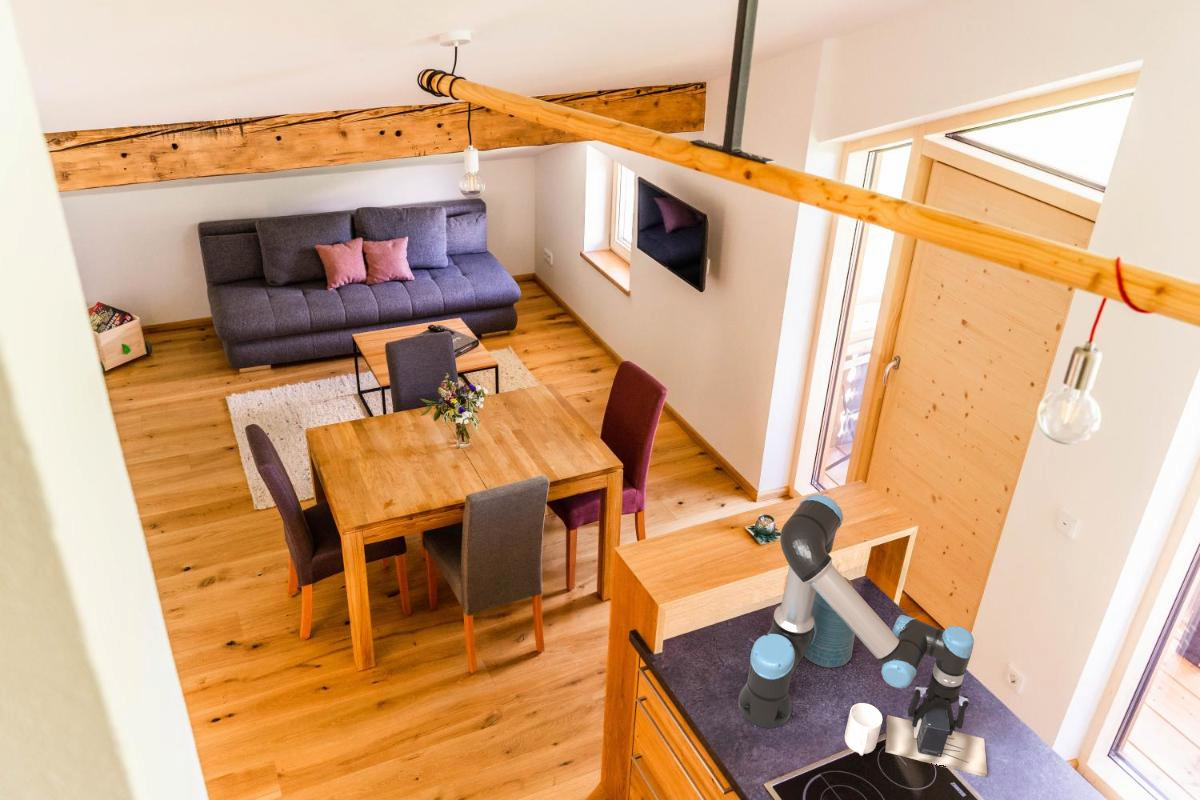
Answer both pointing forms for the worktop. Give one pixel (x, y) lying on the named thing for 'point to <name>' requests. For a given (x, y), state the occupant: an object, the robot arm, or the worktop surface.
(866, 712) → the mug
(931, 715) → the small box
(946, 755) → the board
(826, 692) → the worktop surface
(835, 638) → the vase
